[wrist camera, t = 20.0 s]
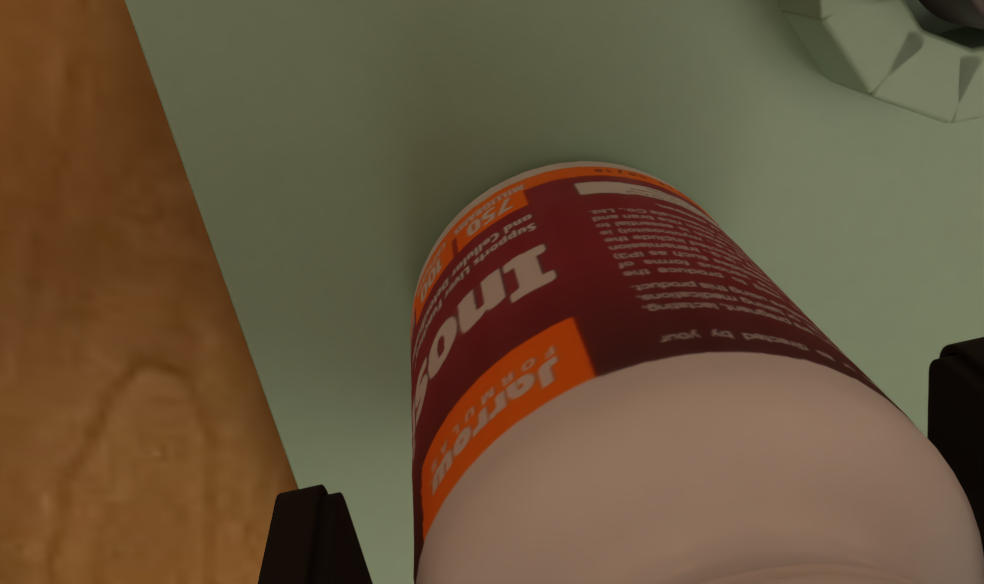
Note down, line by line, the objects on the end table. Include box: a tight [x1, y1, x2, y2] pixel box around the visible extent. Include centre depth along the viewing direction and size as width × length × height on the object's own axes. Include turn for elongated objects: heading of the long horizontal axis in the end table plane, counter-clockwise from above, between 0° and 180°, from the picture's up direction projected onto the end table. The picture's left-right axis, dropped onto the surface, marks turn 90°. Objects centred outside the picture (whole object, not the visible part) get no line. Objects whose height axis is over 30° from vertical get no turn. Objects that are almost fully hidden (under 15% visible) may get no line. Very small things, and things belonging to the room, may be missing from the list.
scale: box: [125, 0, 984, 584], centre depth 16 cm, size 16×14×4 cm
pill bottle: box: [410, 161, 984, 584], centre depth 11 cm, size 6×6×11 cm
